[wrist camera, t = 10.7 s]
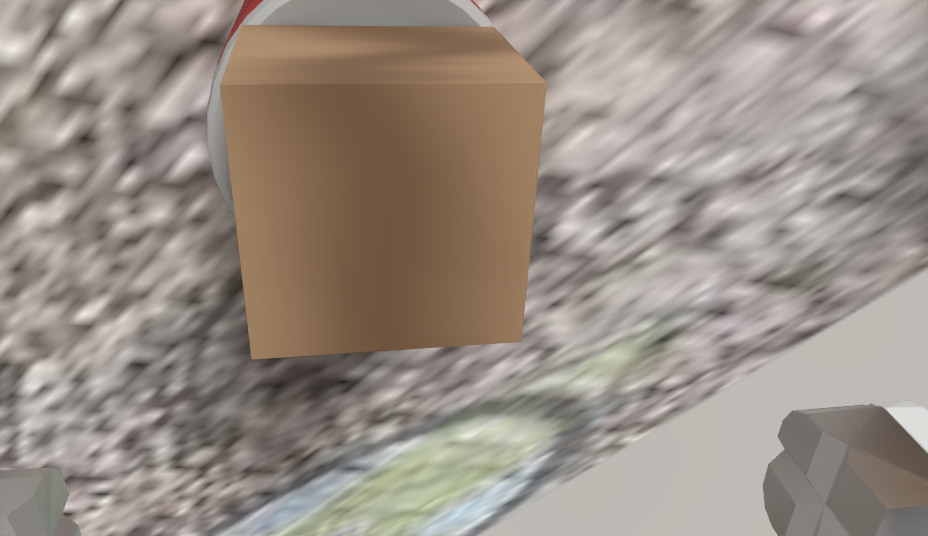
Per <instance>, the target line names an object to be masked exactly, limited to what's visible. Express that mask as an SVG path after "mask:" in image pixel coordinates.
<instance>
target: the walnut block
mask: <svg viewBox="0 0 928 536" xmlns="http://www.w3.org/2000/svg"><path fill="white" fill-rule="evenodd" d="M546 85H547V83H546V82H545V81H544V80H543V79H542V78H541V76H540V75H539V74H538V73H537V72H536V71H535V70H534V69H533V68H532V67H531V66H530V65H529V64H528V63H527V62H526V60H525V59H524V58H523V57H522V56H521V55H520V54H519V53H518V52H517V51H516V50H515V49H514V48H513V47H512V46H511V45H510V43H509V42H508V41H507V40H506V39H505V38H504V37H503V36H502V35H501V34H500V33H499V32H498V31H497V30H496V29H495V28H494V27H446V26H314V25H241V28H240V31H239V34H238V36H237V39H236V42H235V44H234V47H233V50H232V53H231V55H230V58H229V61H228V64H227V66H226V69H225V72H224V74H223V77H222V80H221V83H220V92H221V100H222V109H223V118H224V126H225V135H226V144H227V152H228V161H229V169H230V178H231V187H232V195H233V204H234V213H235V221H236V230H237V238H238V247H239V256H240V264H241V273H242V281H243V290H244V299H245V307H246V316H247V325H248V333H249V342H250V350H251V359H267V358H282V357H298V356H313V355H328V354H343V353H359V352H374V351H389V350H405V349H420V348H435V347H450V346H466V345H481V344H496V343H511V342H521V340H522V330H523V320H524V309H525V299H526V289H527V279H528V269H529V259H530V248H531V238H532V228H533V218H534V208H535V197H536V187H537V177H538V167H539V157H540V146H541V136H542V126H543V116H544V106H545V96H546Z"/></svg>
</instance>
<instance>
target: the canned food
mask: <svg viewBox="0 0 928 536" xmlns="http://www.w3.org/2000/svg"><path fill="white" fill-rule="evenodd" d="M241 25H314V26H446V27H494V26H493V25H492V23H491V22H490V20H489V19H488V17H487V16H486V15H485V14H484V13H483V12H482V10H481V9H480V7H479V6H478V5H477V4H476V3H475V2H474V1H473V0H245V1H244V3H243V6H242V8H241V10H240V12H239V15H238V17H237V19H236V21H235V24H234V26H233V28H232V30H231V33H230V35H229V37H228V40H227V42H226V44H225V47H224V49H223V51H222V54H221V56H220V59H219V61H218V65H217V68H216V71H215V73H214V77H213V82H212V87H211V92H210V97H209V102H208V115H207V117H208V150H209V155H210V160H211V164H212V169H213V173H214V178H215V180H216V183H217V185H218V187H219V189H220V192H221V194H222V196H223V198H224V201H225V203H226V205H227V207H228V208H229V210H230V211H231V213H232V214H233V216H234V217H235V213H234V204H233V195H232V187H231V178H230V169H229V161H228V152H227V144H226V135H225V126H224V118H223V109H222V100H221V92H220V83H221V80H222V77H223V74H224V72H225V69H226V66H227V64H228V61H229V58H230V55H231V53H232V50H233V47H234V44H235V42H236V39H237V36H238V34H239V31H240V28H241Z"/></svg>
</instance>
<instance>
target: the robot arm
mask: <svg viewBox="0 0 928 536" xmlns="http://www.w3.org/2000/svg"><path fill="white" fill-rule="evenodd" d="M778 438H779V440H780V442H781V444H782V445H783V447H784V449H785V450H784V451H782V452H781V453H780V454H779V455H778V456H777V457H776V458H775V459H774V460H773V461H772V462H771V463H769V465H768V468H767V472H766V476H765V479H764V483H763V492H764V501H765V509H766V511H767V514H768V516H769V520H770V522H771V525H772V527H773V528H774V530H775V531H776V533H777V535H778V536H928V410H926V409H925V408H924V407H923V406H921V405H919V404H917V403H915V402H912V401H910V400H906V401H894V402H883V403H874V404H869V405H855V406H843V407H831V408H820V409H809V410H796V411H792V412H791V413H790V414H789V415H788V416H787V417H786V418H785V419H784V420H783V422H782V425H781V428H780V431H779V434H778ZM68 497H69V492H68V489H67V486H66V484H65V481H64V478H63V475H62V472H61V471H59V470H57V469H54V468H35V469H16V470H0V536H81V533H80V529H79V525H78V524H76V523H75V522H73V521H72V520H70V519H69V518H67V517H66V516H65V515H63V514H62V512H63V510H64V507H65V504H66V502H67V499H68Z"/></svg>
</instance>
